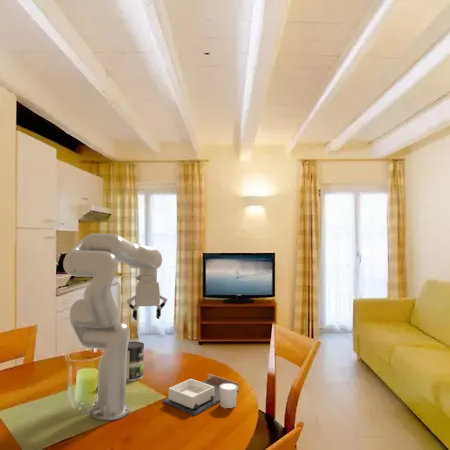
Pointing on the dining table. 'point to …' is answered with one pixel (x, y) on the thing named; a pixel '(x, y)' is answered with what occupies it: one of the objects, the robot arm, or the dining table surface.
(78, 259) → the robot arm
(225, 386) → the white tapered cylinder
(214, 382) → the dark grey base plate
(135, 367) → the coffee can
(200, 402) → the white tray on base
